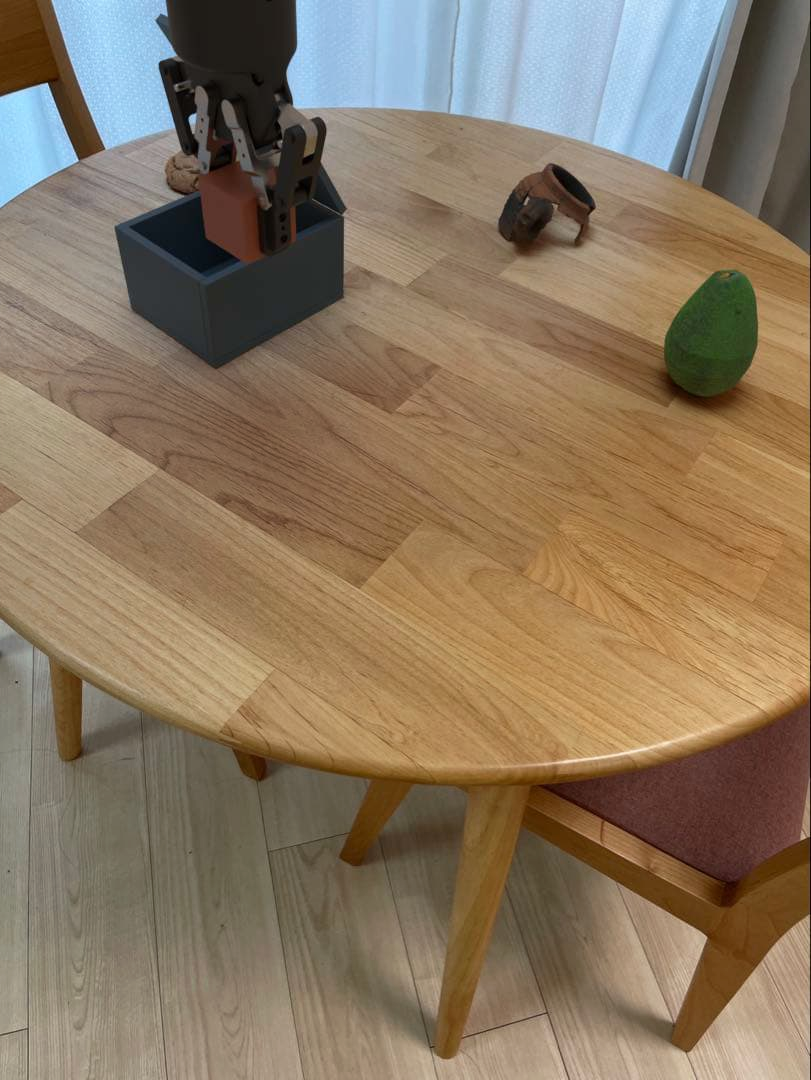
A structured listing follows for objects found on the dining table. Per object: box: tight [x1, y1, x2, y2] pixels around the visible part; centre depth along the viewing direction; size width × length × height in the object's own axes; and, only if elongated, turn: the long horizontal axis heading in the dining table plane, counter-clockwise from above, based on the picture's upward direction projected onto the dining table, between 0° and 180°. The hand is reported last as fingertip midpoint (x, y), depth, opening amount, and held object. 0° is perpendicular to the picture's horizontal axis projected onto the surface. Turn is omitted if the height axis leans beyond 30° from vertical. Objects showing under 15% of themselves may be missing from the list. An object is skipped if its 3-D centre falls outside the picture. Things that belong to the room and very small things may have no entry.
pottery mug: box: [497, 162, 597, 245], centre depth 98 cm, size 12×10×8 cm
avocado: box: [663, 269, 759, 398], centre depth 79 cm, size 8×8×12 cm
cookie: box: [164, 149, 239, 194], centre depth 103 cm, size 10×11×3 cm
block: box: [198, 160, 296, 264], centre depth 61 cm, size 5×5×5 cm
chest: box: [113, 190, 345, 369], centre depth 85 cm, size 17×13×9 cm
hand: (250, 235), depth 63 cm, fingers closed on block, 4 cm apart
